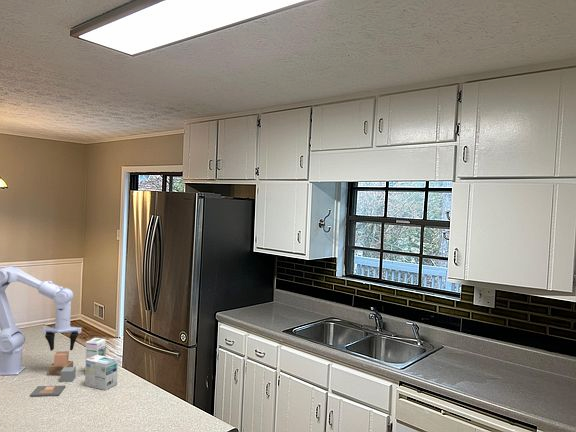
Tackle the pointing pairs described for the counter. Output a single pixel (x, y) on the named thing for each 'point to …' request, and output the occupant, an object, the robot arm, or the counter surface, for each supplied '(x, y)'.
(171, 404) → the counter surface
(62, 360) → the terracotta block
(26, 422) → the counter surface
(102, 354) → the syrup box
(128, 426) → the counter surface
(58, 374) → the walnut block
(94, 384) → the light bulb box
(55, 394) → the card
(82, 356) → the counter surface
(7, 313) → the robot arm
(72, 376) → the slate-grey block
